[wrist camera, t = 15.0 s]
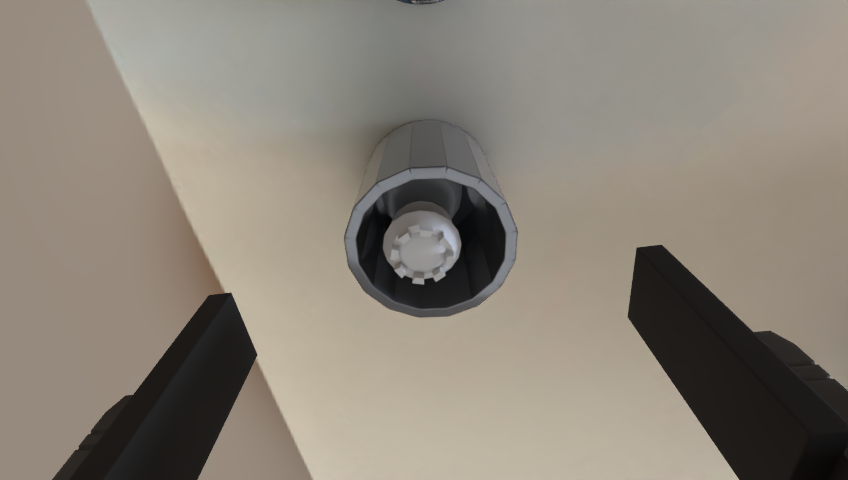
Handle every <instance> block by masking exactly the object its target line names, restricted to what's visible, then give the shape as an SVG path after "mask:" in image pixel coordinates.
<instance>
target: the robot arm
mask: <svg viewBox="0 0 848 480" xmlns="http://www.w3.org/2000/svg"><path fill="white" fill-rule="evenodd" d="M628 318H629V320H630V321H631V322H632V324H633V325H634V327H635V328H636V330H637V331H638V333H639V334H640V336H641V337H642V339H643V340H644V341H645V343H646V344H647V346H648V347H649V349H650V350H651V352H652V353H653V355H654V356H655V357H656V359H657V360H658V362H659V363H660V365H661V366H662V368H663V369H664V371H665V372H666V373H667V375H668V376H669V378H670V379H671V381H672V382H673V384H674V385H675V387H676V388H677V390H678V391H679V392H680V394H681V395H682V397H683V398H684V400H685V401H686V403H687V404H688V406H689V407H690V408H691V410H692V411H693V413H694V414H695V416H696V417H697V419H698V420H699V422H700V423H701V424H702V426H703V427H704V429H705V430H706V432H707V433H708V435H709V436H710V438H711V439H712V441H713V442H714V443H715V445H716V446H717V448H718V449H719V451H720V452H721V454H722V455H723V457H724V458H725V459H726V461H727V462H728V464H729V465H730V467H731V468H732V470H733V471H734V473H735V474H736V475H737V477H738V478H739V480H848V391H847V390H846V389H845V388H844V387H843V386H842V385H841V384H840V383H838V382H837V381H836V380H835V379H831V378H830V375H829V374H828V373H827V372H826V371H825V370H824V369H822V368H821V367H820V366H819V365H815V364H814V361H813V360H812V359H811V358H810V357H809V356H808V355H807V354H805V353H804V352H803V351H802V350H801V349H800V348H799V347H797V346H796V345H795V344H793V343H792V342H790V341H788V340H786V339H784V338H782V337H780V336H779V335H777V334H775V333H773V332H771V331H763V332H753V331H752V330H751V329H750V328H749V327H748V326H746V325H745V324H744V323H743V322H742V321H741V320H740V319H739V318H738V317H737V316H736V315H735V314H734V313H733V312H732V311H731V310H730V309H729V308H728V307H727V306H725V305H724V304H723V303H722V302H721V301H720V300H719V299H718V298H717V297H716V296H715V295H714V294H713V293H712V292H711V291H710V290H709V289H708V288H707V287H705V286H704V285H703V284H702V283H701V282H700V281H699V280H698V279H697V278H696V277H695V276H694V275H693V274H692V273H691V272H690V271H689V270H688V269H687V268H686V267H684V266H683V265H682V264H681V263H680V262H679V261H678V260H677V259H676V258H675V257H674V256H673V255H672V254H671V253H670V252H669V251H668V250H667V249H666V248H665V247H663V246H662V245H656V246H647V247H638V248H637V249H636V257H635V265H634V272H633V280H632V288H631V296H630V303H629V311H628ZM256 357H257V353H256V350H255V348H254V346H253V343H252V341H251V339H250V336H249V334H248V331H247V329H246V327H245V324H244V322H243V319H242V317H241V315H240V312H239V310H238V308H237V305H236V303H235V300H234V298H233V296H232V293H224V294H215V295H209V296H208V297H207V299H206V300H205V301H204V303H203V304H202V305H201V306H200V308H199V309H198V310H197V312H196V313H195V314H194V316H193V317H192V318H191V319H190V321H189V322H188V323H187V325H186V326H185V327H184V329H183V330H182V331H181V333H180V334H179V335H178V337H177V338H176V339H175V341H174V342H173V343H172V345H171V346H170V347H169V348H168V350H167V351H166V352H165V354H164V355H163V357H162V358H161V359H160V360H159V362H158V363H157V364H156V366H155V367H154V368H153V370H152V371H151V372H150V374H149V375H148V376H147V378H146V379H145V380H144V381H143V383H142V384H141V385H140V387H139V388H138V389H137V391H136V392H135V393H134V395H128V396H125V397H123V398H122V399H121V400H120V401H119V402H117V403H116V404H115V405H114V406H113V407H112V408H110V409H109V410H108V411H107V412H106V413H105V414H104V415H103V416H102V418H101V419H100V420H99V422H98V423H97V424H96V425H95V426H94V428H93V429H92V430H91V434H89V435H87V436H86V438H85V439H84V440H83V441H82V443H81V444H80V445H79V449H78V450H75V451H74V453H73V454H72V455H71V457H70V458H69V459H68V460H67V462H66V463H65V464H64V465H63V467H62V468H61V469H60V471H59V472H58V473H57V474H56V475H55V477H54V478H53V479H52V480H197V479H198V477H199V475H200V473H201V471H202V469H203V466H204V465H205V463H206V461H207V459H208V456H209V454H210V452H211V450H212V448H213V446H214V444H215V442H216V440H217V438H218V436H219V433H220V432H221V430H222V427H223V425H224V423H225V421H226V419H227V417H228V415H229V413H230V411H231V409H232V406H233V405H234V402H235V400H236V398H237V396H238V394H239V392H240V390H241V388H242V386H243V384H244V382H245V380H246V378H247V376H248V374H249V371H250V369H251V367H252V365H253V363H254V361H255V359H256Z"/></svg>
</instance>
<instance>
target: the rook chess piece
mask: <svg viewBox="0 0 848 480" xmlns="http://www.w3.org/2000/svg"><path fill="white" fill-rule="evenodd" d="M461 197H462V185H461V184H458V183H455V182H453V181H450V180H447V179H423V180H412V181H409V182H407V183H405V184H402V185H400V186H398V187H396V188H393V189H391V190H389V191H387V192H384V194H383V195H382V200H383V203H384V206H385V209H386V212H387V213H388V215H389V216H390V217H391V218H392V219H393V220H392V223H391V225H390V226H389V228H388V230H387V231H386V233H385V235H384V242H383V250H384V253H385V256H386V259H387V261H388V262H389V263H390V265H391V266H392V267H393V268H394V271H395V272H396V273H397V274H398V275H399V276H400V277H401V278H403V277H404V276H405V275H406V276H408V277H410V278H412V283H414V284H423V285H424V279H428V278H432V277H433V278H434V280H435V281H436V282H437V281H438V280H440V279H441V278H443V277H444V276H446V275H445V272H446V271H448V270H449V269H451V268H452V266H453V265H454V263H455V262H456V261H457V259H458V258H459V254H460V249H461V240H460V236H459V232H458V230H457V229H456V227H455V226H454V225H453V224H452V220H451V219H452V218H453V216H454V215H455V213H456V212H457V210H458V209H459V207H460V202H461Z"/></svg>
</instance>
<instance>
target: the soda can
mask: <svg viewBox="0 0 848 480" xmlns="http://www.w3.org/2000/svg"><path fill="white" fill-rule="evenodd" d="M398 1H401V2H405V3H409V4H432V3H437V2H441V1H444V0H398Z"/></svg>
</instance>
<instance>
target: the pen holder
mask: <svg viewBox="0 0 848 480" xmlns="http://www.w3.org/2000/svg"><path fill="white" fill-rule="evenodd" d="M423 179H447V180H450V181H453V182H455V183H458V184H461V185H462V197H461V202H460V207H459V209H458V210H457V212H456V213H455V215H454V216H453V218H452V219H451V220H452V224H453V225H454V226H455V227H456V229H457V230H458V232H459V236H460V240H461V249H460V254H459V258H458V259H457V261H456V262H455V263H454V265H453V266H452V268H451V269H449V270H448V271H446V272H445V275H446V276H444V277H443V278H441V279H440V280H438V281H437V282H436V281H435V280H434V278H433V277H432V278H428V279H424V285H423V284H414V283H412V278H410V277H408V276H406V275H405V276H404V277H403V278H401V277H400V276H399V275H398V274H397V273H396V272H395V271H394V268H393V267H392V266H391V265H390V263H389V262H388V261H387V259H386V256H385V253H384V250H383V242H384V235H385V233H386V231H387V230H388V228H389V226H390V225H391V223H392V220H393V219H392V218H391V217H390V216H389V215H388V213H387V212H386V209H385V206H384V203H383V200H382V195H383V194H384V192H387V191H389V190H391V189H393V188H396V187H398V186H400V185H402V184H405V183H407V182H409V181H412V180H423ZM517 235H518V231H517V227H516V224H515V222H514V219H513V217H512V214H511V212H510V209H509V207H508V204H507V202H506V200H505V198H504V195H503V193H502V191H501V189H500V187H499V185H498V182H497V180H496V178H495V176H494V174H493V171H492V169H491V167H490V165H489V163H488V161H487V158H486V156H485V154H484V152H483V150H482V148H481V147H480V146H479V145H478V143H477V142H476V141H475V140H474V139H473V138H472V137H471V136H470V135H469V134H468V133H467V132H465V131H464V130H462V129H460V128H459V127H457V126H455V125H452V124H450V123H447V122H443V121H437V120H420V121H414V122H410V123H407V124H405V125H402V126H400V127H398V128H397V129H395V130H393V131H392V132H391V133H389V134H388V135H387V136H386V137H385V138H384V139H383V140H382V141H381V142H380V143H379V145H378V146H377V147H376V149H375V151H374V152H373V154H372V156H371V158H370V161H369V164H368V167H367V170H366V172H365V175H364V178H363V181H362V184H361V187H360V189H359V192H358V195H357V198H356V201H355V204H354V206H353V209H352V212H351V216H350V219H349V222H348V225H347V228H346V232H345V235H344V242H345V249H346V255H347V262H348V266H349V269H350V270H351V272H352V273H353V275H354V276H355V278H356V279H357V281H358V283H359V284H360V286H361V287H362V289H363V290H364V291H365V292H366V293H367V294H368V295H370V296H371V297H373V298H374V299H375V300H377V301H378V302H380V303H381V304H382V305H384V306H385V307H387V308H389V309H391V310H394V311H397V312H401V313H404V314H408V315H411V316H415V317H447V316H451V315H454V314H457V313H460V312H462V311H465V310H468V309H470V308H473V307H476V306H477V305H479V304H481V303H482V302H483V301H484V300H486V299H487V298H488V297H489V296H490V295H492V294H493V293H494V292H495V291H496V290H498V289H499V288H500V287H501V286H502V284H503V282H504V281H505V279H506V277H507V275H508V273H509V271H510V270H511V268H512V266H513V264H514V262H515V260H516V249H517Z"/></svg>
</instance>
